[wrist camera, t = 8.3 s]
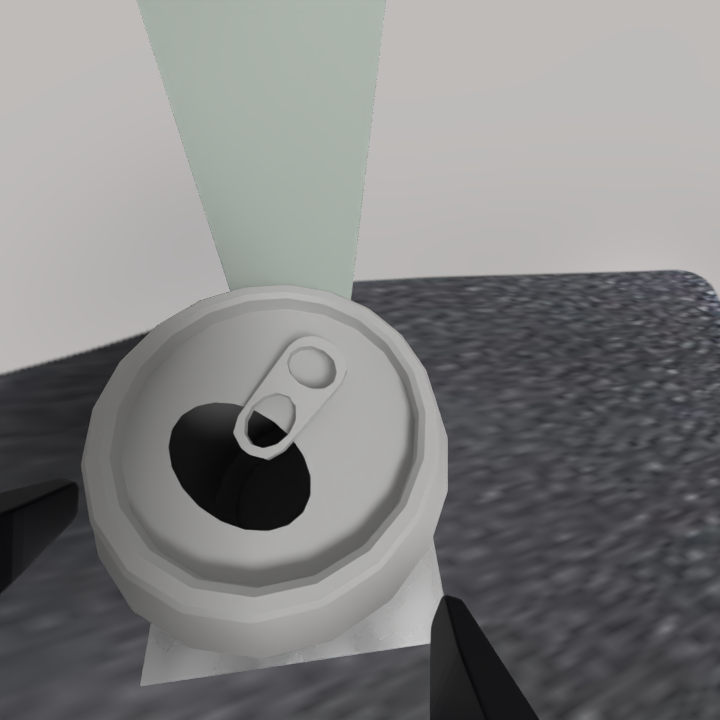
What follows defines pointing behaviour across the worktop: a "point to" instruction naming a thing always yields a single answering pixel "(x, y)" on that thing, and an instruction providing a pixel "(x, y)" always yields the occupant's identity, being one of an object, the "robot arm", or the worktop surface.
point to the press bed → (374, 633)
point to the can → (265, 470)
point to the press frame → (274, 127)
